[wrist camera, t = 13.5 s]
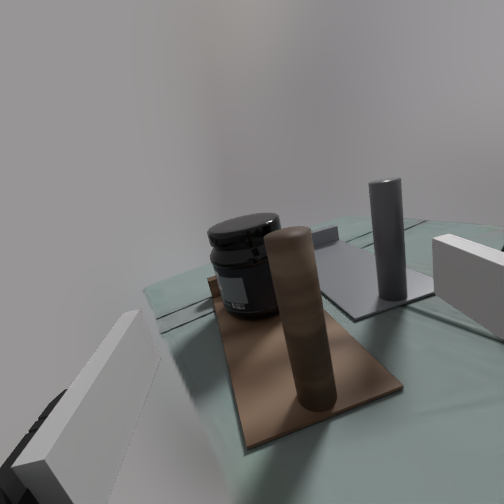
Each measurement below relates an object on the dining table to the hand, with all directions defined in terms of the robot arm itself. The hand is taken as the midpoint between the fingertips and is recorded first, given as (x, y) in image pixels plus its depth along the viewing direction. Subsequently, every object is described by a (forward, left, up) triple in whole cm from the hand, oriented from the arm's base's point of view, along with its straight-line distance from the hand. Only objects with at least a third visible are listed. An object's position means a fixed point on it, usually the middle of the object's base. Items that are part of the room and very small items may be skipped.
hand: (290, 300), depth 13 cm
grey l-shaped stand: (+29, -18, -13) cm, 36 cm away
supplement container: (+25, -3, -13) cm, 28 cm away
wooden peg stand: (+19, -3, -13) cm, 23 cm away
